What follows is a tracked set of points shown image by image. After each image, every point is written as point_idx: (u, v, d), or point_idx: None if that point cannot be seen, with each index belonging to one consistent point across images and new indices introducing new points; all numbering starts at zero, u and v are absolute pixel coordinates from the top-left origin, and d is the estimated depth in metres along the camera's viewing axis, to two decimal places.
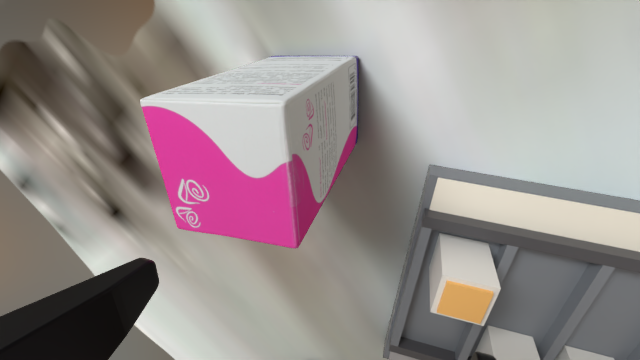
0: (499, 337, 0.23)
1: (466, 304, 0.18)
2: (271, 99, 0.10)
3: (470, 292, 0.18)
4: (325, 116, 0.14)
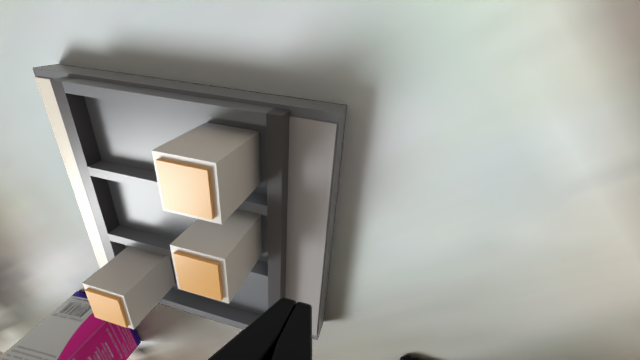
0: None
1: (105, 307, 0.20)
2: None
3: (93, 304, 0.20)
4: None
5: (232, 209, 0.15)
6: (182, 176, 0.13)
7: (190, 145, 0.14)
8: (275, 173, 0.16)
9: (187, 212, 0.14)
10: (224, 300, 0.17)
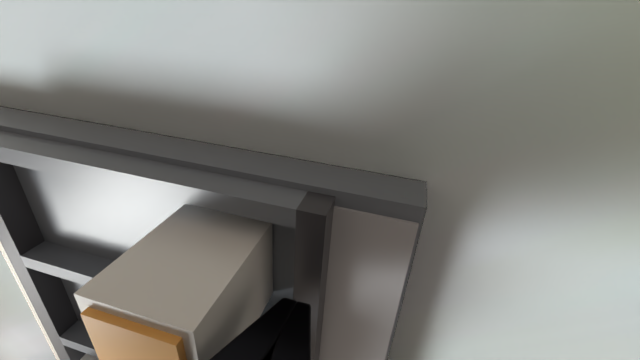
0: None
1: None
2: None
3: None
4: None
5: None
6: (131, 344, 0.07)
7: (151, 272, 0.08)
8: (307, 296, 0.10)
9: None
10: None
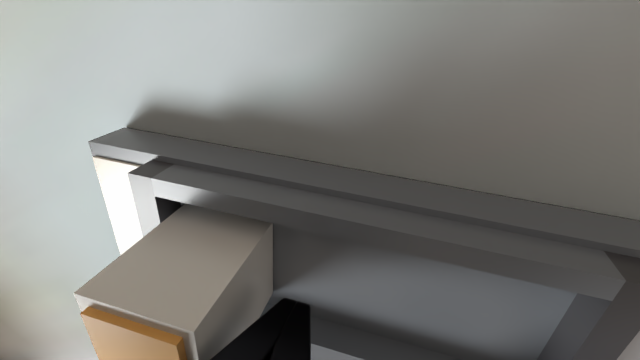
0: None
1: None
2: None
3: None
4: None
5: None
6: (131, 344, 0.07)
7: (151, 271, 0.08)
8: None
9: None
10: None
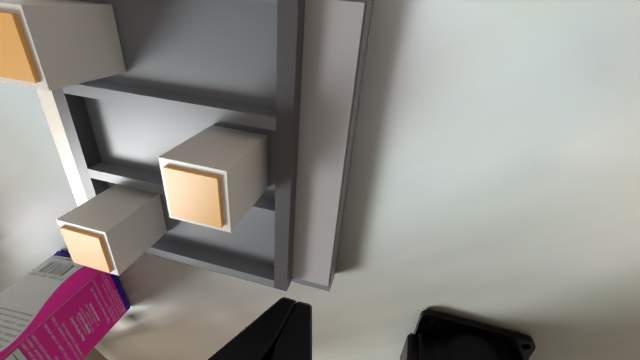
0: None
1: (84, 249, 0.17)
2: None
3: (70, 245, 0.17)
4: None
5: (70, 80, 0.14)
6: None
7: (11, 0, 0.13)
8: (287, 72, 0.13)
9: (9, 76, 0.13)
10: (225, 228, 0.14)
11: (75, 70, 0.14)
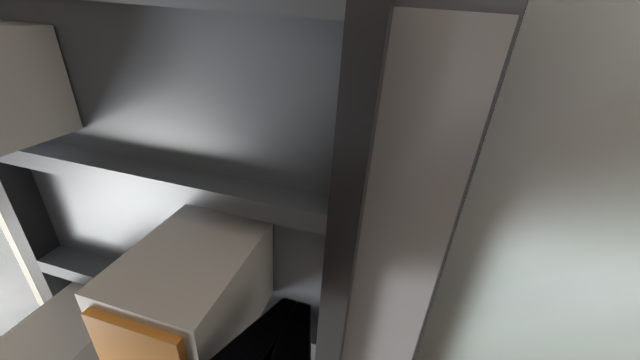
0: None
1: None
2: None
3: None
4: None
5: None
6: None
7: None
8: (354, 143, 0.07)
9: None
10: None
11: None
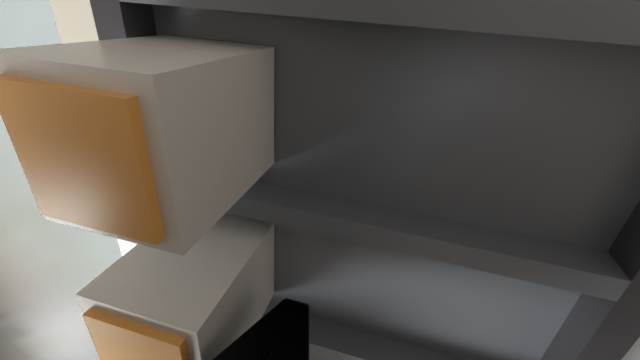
0: None
1: None
2: None
3: None
4: None
5: (213, 216, 0.06)
6: (63, 122, 0.05)
7: (101, 51, 0.05)
8: None
9: (94, 225, 0.06)
10: None
11: (221, 191, 0.06)
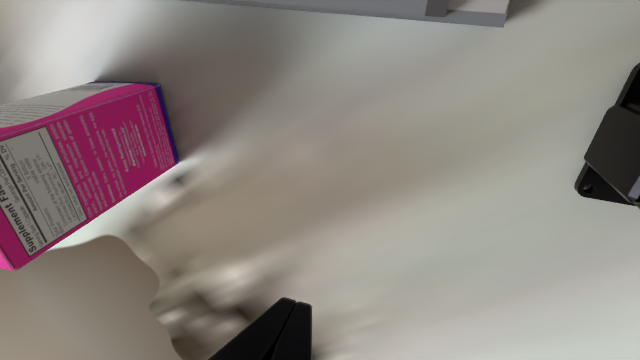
0: None
1: None
2: None
3: None
4: None
5: None
6: None
7: None
8: None
9: None
10: None
11: None
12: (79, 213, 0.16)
